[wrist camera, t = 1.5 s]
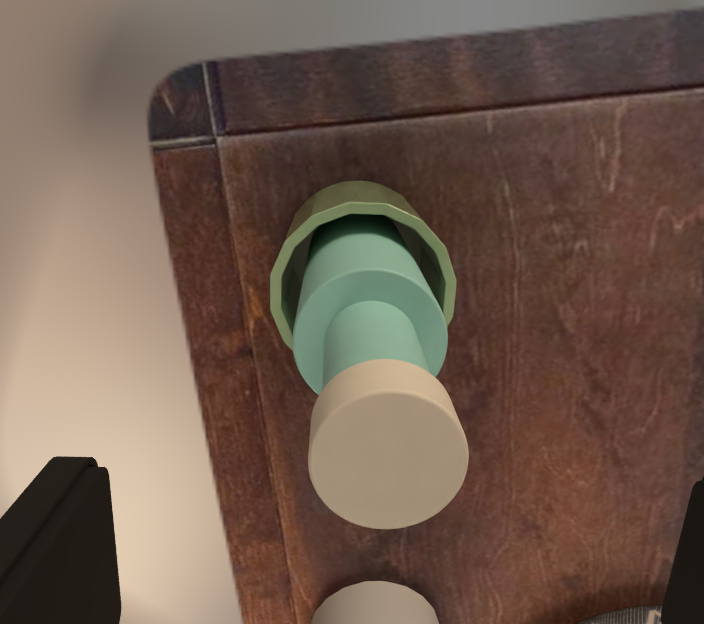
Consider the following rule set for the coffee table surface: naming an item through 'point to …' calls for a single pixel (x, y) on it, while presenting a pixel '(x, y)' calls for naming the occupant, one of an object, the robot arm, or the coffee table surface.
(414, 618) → the can
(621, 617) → the planter
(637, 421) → the coffee table surface
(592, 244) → the coffee table surface
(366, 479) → the bottle
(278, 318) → the holder
